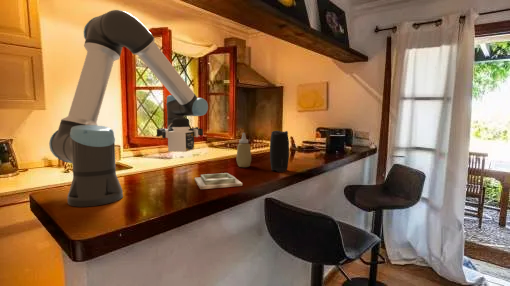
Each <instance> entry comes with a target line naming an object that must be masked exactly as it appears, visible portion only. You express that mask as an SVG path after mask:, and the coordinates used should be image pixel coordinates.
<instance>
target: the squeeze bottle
mask: <svg viewBox="0 0 510 286" xmlns="http://www.w3.org/2000/svg"><path fill="white" fill-rule="evenodd" d="M238 142H239V143H237V149H236V164H237V166H238V167H239V168H249V167H250V166H251V162H252V151H251V144H250V143H249V140H248V139H247V135H246V132H242V136H241V139H239V141H238Z"/></svg>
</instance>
